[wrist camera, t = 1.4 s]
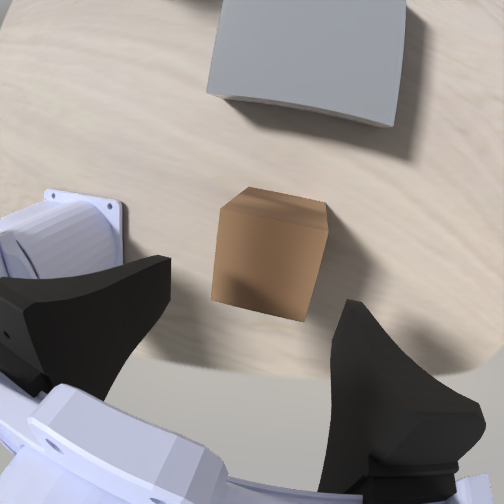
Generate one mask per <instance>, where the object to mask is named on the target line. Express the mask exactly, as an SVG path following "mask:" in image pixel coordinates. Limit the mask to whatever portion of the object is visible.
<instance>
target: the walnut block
mask: <svg viewBox="0 0 504 504" xmlns="http://www.w3.org/2000/svg"><path fill="white" fill-rule="evenodd" d="M328 233H329V229H328V220H327V212H326V204H325V203H324V202H320V201H315V200H311V199H306V198H302V197H297V196H292V195H287V194H282V193H278V192H273V191H267V190H262V189H257V188H252V187H248V188H246V189H245V190H244V191H243V192H241V193H240V194H239V195H237V196H236V197H235V198H234V199H232V200H231V201H230V202H228V203H227V204H226V205H225V206H223V207H222V208H221V209H220V217H219V225H218V234H217V243H216V252H215V262H214V272H213V282H212V292H211V300H212V301H216V302H220V303H224V304H228V305H232V306H236V307H240V308H244V309H248V310H252V311H256V312H260V313H264V314H269V315H273V316H277V317H282V318H286V319H291V320H295V321H300V322H304V320H305V317H306V314H307V310H308V307H309V304H310V300H311V297H312V293H313V290H314V286H315V282H316V279H317V275H318V272H319V268H320V264H321V260H322V257H323V253H324V249H325V245H326V241H327V237H328Z"/></svg>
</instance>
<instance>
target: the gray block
mask: <svg viewBox="0 0 504 504" xmlns="http://www.w3.org/2000/svg"><path fill="white" fill-rule="evenodd" d="M405 21H406V0H223V4H222V9H221V13H220V18H219V23H218V28H217V33H216V38H215V44H214V49H213V55H212V60H211V66H210V72H209V78H208V84H207V91H206V93H207V94H210V95H213V96H216V97H218V98H221V99H227V100H237V101H246V102H255V103H262V104H270V105H276V106H283V107H289V108H295V109H301V110H306V111H311V112H316V113H321V114H326V115H331V116H335V117H340V118H344V119H348V120H352V121H356V122H360V123H364V124H368V125H372V126H375V127H379V128H386V127H393V126H394V120H395V114H396V107H397V101H398V94H399V86H400V78H401V70H402V61H403V50H404V37H405Z"/></svg>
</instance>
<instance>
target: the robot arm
mask: <svg viewBox="0 0 504 504" xmlns="http://www.w3.org/2000/svg"><path fill="white" fill-rule="evenodd" d="M44 197H45V200H44V201H41V202H39V203H36V204H34V205H31V206H28V207H26V208H23V209H21V210H18V211H16V212H13V213H11V214H9V215H6V216H4V217H2V218H0V442H1V443H2V444H3V445H4V446H5V447H6V448H7V449H8V450H9V451H10V452H11V453H12V454H13V455H14V456H15V457H14V458H13V460H12V461H11V462H10V463H9V465H8V466H7V467H6V469H5V470H4V471H3V473H2V474H1V475H0V504H494V502H493V497H492V491H491V486H490V482H489V477H488V474H487V473H484V474H479V475H474V476H468V477H464V478H461V479H459V480H457V481H455V478H454V473H456V472H457V471H458V470H459V466H458V460H459V459H460V458H461V457H462V456H464V455H465V454H466V453H467V451H469V450H470V449H471V448H472V447H473V446H474V445H475V444H476V443H477V442H478V441H479V440H480V438H481V437H482V435H483V433H484V431H485V428H486V422H485V420H484V416H483V414H482V411H481V408H480V405H479V403H477V402H475V401H473V400H471V399H469V398H467V397H465V396H463V395H461V394H458V393H457V392H455V391H453V390H452V389H450V388H449V387H447V386H445V385H444V384H442V383H441V382H439V381H438V380H436V379H435V378H433V377H432V376H431V375H430V374H428V373H427V372H426V371H424V370H423V369H422V368H421V367H419V366H418V365H417V364H416V363H415V362H414V361H413V360H412V359H411V358H409V357H408V356H407V355H406V354H405V353H404V352H403V351H402V350H401V349H400V348H399V347H398V345H397V344H396V343H395V342H394V341H393V340H392V339H391V338H390V336H389V335H388V334H387V333H386V332H385V330H384V329H383V328H382V327H381V325H380V324H379V323H378V322H377V320H376V319H375V318H374V316H373V315H372V314H371V313H370V311H369V310H368V309H367V308H366V306H365V305H364V304H363V303H362V302H358V301H354V300H349V299H347V301H346V304H345V307H344V310H343V312H342V315H341V318H340V321H339V323H338V326H337V329H336V331H335V334H334V336H333V339H332V347H331V358H330V369H331V400H332V401H331V403H332V407H331V421H330V430H329V437H328V444H327V450H326V456H325V461H324V466H323V470H322V475H321V480H320V484H319V487H318V491H317V492H310V491H302V490H295V489H288V488H282V487H276V486H270V485H265V484H260V483H255V482H251V481H246V480H242V479H238V478H234V477H230V476H228V471H227V469H226V467H225V464H224V462H223V461H222V459H221V458H220V457H219V456H217V455H216V454H215V453H213V452H212V451H211V450H209V449H208V448H207V447H205V446H204V445H202V444H200V443H198V442H196V441H193V440H191V439H189V438H187V437H185V436H183V435H181V434H178V433H175V432H172V431H170V430H167V429H164V428H162V427H159V426H156V425H154V424H152V423H149V422H147V421H145V420H142V419H140V418H137V417H135V416H133V415H130V414H128V413H126V412H124V411H122V410H120V409H118V408H116V407H113V406H111V405H109V404H107V403H105V402H104V400H105V398H106V396H107V394H108V392H109V390H110V388H111V386H112V384H113V382H114V381H115V379H116V377H117V375H118V373H119V372H120V370H121V368H122V367H123V365H124V364H125V362H126V360H127V359H128V357H129V356H130V354H131V353H132V352H133V350H134V349H135V348H136V347H137V345H138V344H139V343H140V342H141V341H142V339H143V338H144V337H145V336H146V334H147V333H148V332H149V331H150V330H151V328H152V327H153V326H154V325H155V323H156V322H157V321H158V319H159V318H160V317H161V315H162V314H163V312H164V310H165V309H166V307H167V305H168V303H169V301H170V292H171V258H169V257H165V256H161V255H155V256H150V257H147V258H143V259H140V260H136V261H133V262H130V263H127V264H124V265H123V240H122V204H121V202H120V201H118V200H113V199H108V198H102V197H96V196H90V195H85V194H79V193H73V192H67V191H61V190H55V189H46V190H45V193H44ZM110 204H111V205H112V208H111V207H110Z"/></svg>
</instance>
